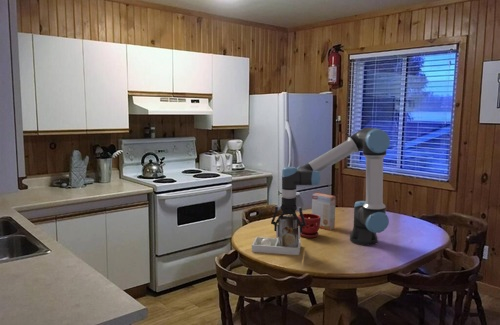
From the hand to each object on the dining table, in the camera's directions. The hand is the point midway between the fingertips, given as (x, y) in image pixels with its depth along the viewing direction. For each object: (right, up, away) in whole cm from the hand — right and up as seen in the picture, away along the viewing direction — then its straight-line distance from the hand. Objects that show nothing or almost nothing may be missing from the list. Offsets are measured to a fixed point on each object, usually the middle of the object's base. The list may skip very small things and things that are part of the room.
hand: (288, 237), depth 219 cm
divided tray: (-6, -7, +2) cm, 10 cm away
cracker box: (+26, -1, +44) cm, 51 cm away
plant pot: (+15, -4, +28) cm, 31 cm away
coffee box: (0, -5, +1) cm, 5 cm away
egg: (-12, -6, +3) cm, 13 cm away
